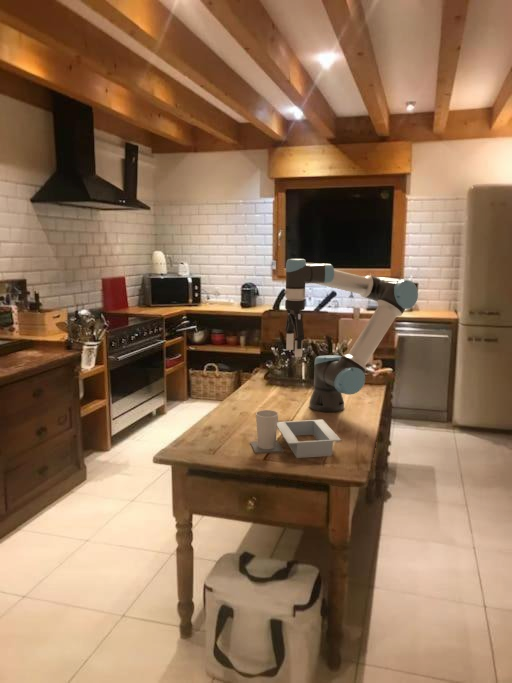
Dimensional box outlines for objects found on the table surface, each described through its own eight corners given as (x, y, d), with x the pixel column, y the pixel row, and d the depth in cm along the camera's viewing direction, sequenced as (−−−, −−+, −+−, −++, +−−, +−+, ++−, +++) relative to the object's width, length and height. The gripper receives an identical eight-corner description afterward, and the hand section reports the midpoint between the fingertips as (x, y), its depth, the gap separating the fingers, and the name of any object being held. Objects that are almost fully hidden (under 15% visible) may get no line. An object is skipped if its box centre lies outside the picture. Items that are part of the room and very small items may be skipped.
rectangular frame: (322, 433, 213) (322, 419, 212) (340, 455, 192) (341, 439, 191) (274, 436, 209) (274, 422, 208) (288, 458, 188) (288, 443, 187)
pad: (277, 441, 204) (277, 440, 204) (283, 452, 194) (283, 450, 194) (250, 443, 202) (250, 441, 202) (255, 453, 192) (255, 452, 192)
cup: (262, 451, 193) (262, 418, 191) (251, 443, 200) (251, 411, 197) (282, 447, 196) (282, 415, 194) (271, 440, 203) (271, 408, 201)
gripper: (278, 295, 226) (277, 347, 230) (293, 303, 202) (292, 360, 206) (296, 295, 227) (295, 346, 231) (313, 303, 203) (312, 359, 207)
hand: (293, 353), depth 218 cm, fingers open, 13 cm apart
